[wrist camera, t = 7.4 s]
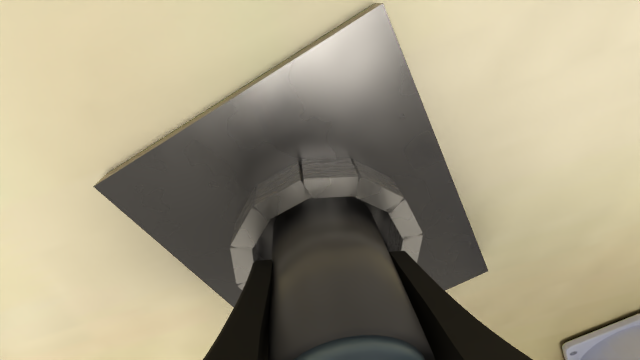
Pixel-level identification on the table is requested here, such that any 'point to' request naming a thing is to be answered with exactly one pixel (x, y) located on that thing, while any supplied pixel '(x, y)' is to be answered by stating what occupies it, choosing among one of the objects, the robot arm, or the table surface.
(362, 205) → the blue-grey cylinder
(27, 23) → the table surface
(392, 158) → the metal base plate
